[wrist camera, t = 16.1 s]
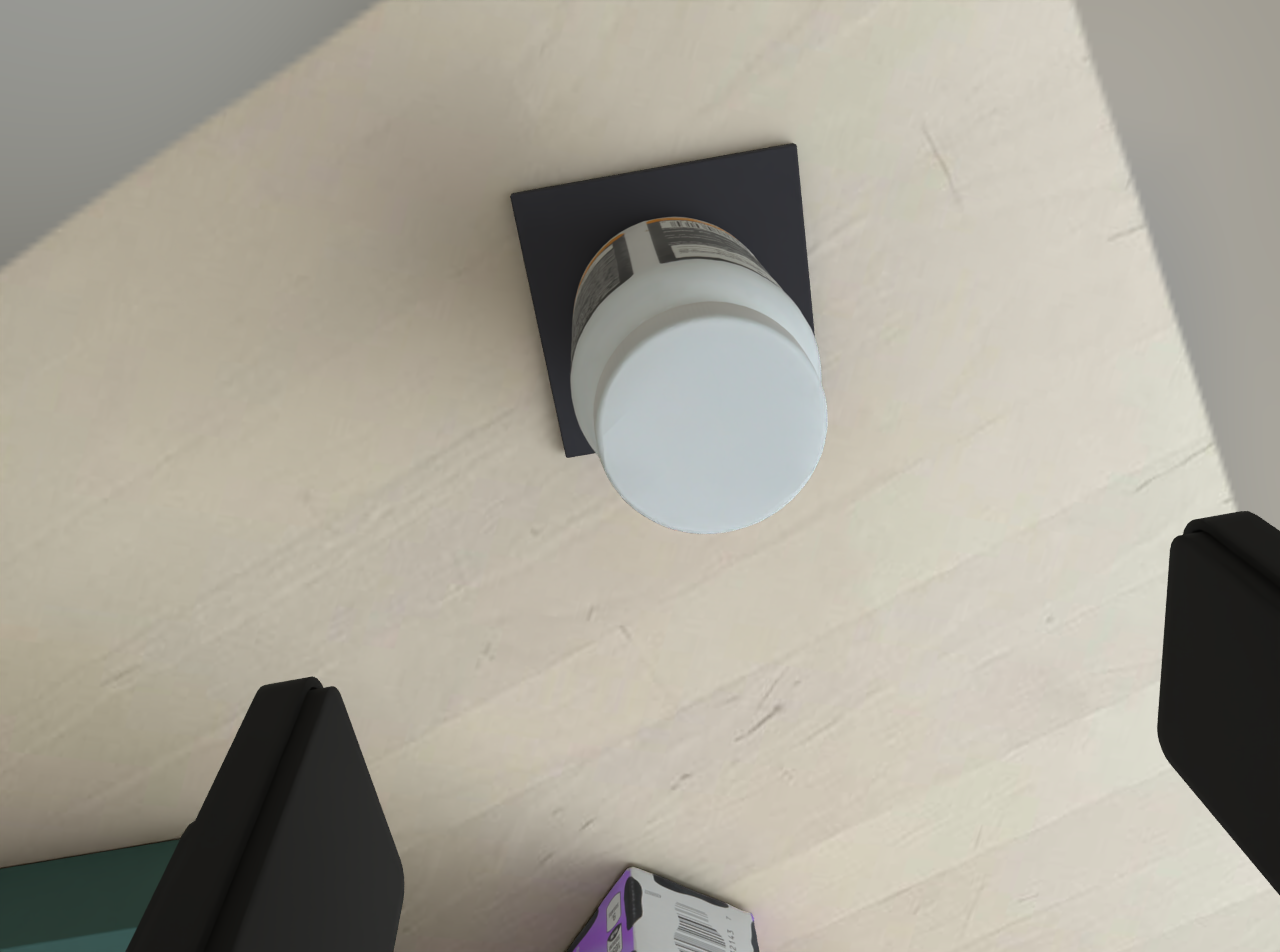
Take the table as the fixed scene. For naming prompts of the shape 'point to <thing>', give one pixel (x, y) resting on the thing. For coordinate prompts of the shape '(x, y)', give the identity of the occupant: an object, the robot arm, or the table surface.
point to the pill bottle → (695, 377)
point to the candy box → (664, 920)
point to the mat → (603, 207)
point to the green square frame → (80, 900)
